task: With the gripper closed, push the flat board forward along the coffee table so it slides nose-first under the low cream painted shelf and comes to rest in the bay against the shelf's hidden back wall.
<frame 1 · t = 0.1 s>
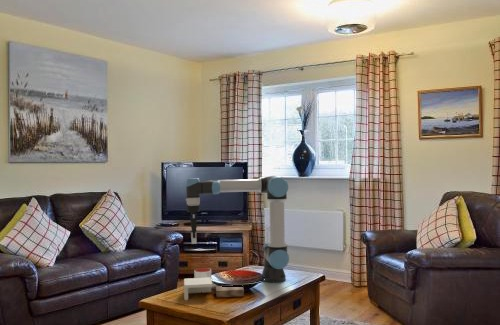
hand: (193, 241, 267), 28 cm above the table, fingers open, 13 cm apart
board: (229, 295, 258), on the table
cup: (203, 287, 274), on the table
shelf: (198, 295, 256), on the table
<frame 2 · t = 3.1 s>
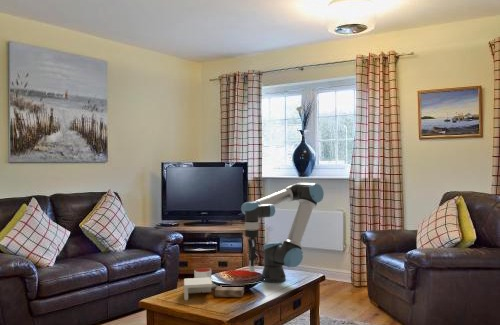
hand: (252, 271, 259), 12 cm above the table, fingers closed
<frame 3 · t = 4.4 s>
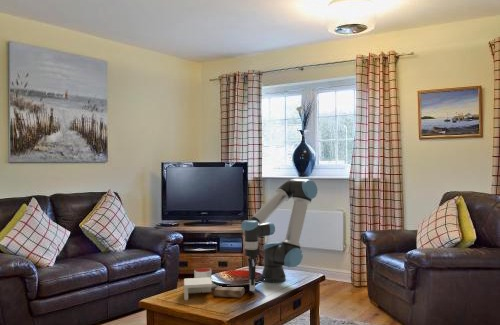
hand: (252, 290, 260), 1 cm above the table, fingers closed
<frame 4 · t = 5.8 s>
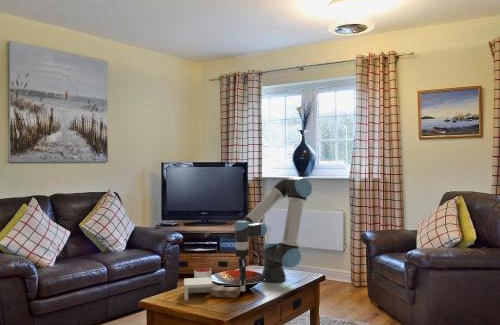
hand: (242, 290, 259), 2 cm above the table, fingers closed
board: (225, 295, 257), on the table
everything else where it was.
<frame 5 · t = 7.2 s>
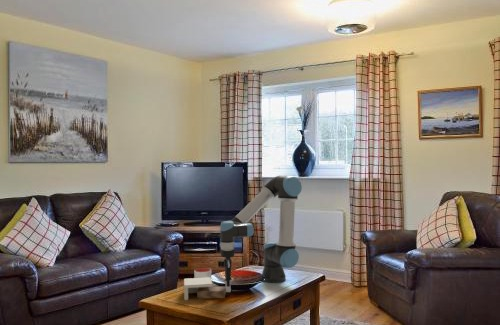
hand: (228, 291, 258), 2 cm above the table, fingers closed
board: (211, 296, 256), on the table, touching gripper
everything else where it was.
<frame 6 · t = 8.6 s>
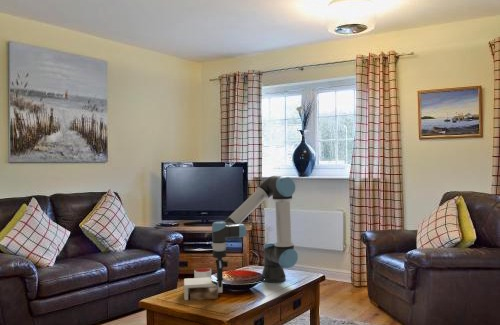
hand: (219, 292, 257), 1 cm above the table, fingers closed
board: (203, 297, 254), on the table
everything else where it was.
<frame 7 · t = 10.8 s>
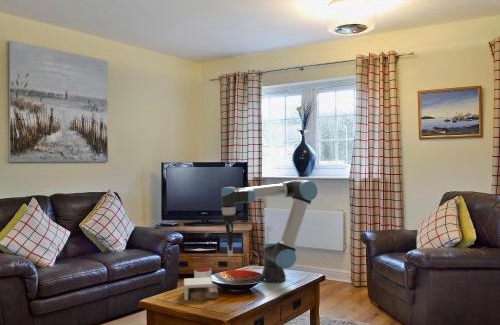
hand: (230, 255, 263), 20 cm above the table, fingers closed
nothing on the table moved.
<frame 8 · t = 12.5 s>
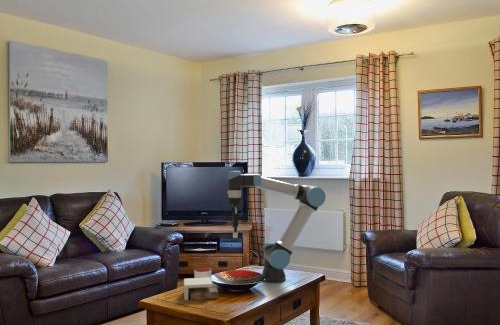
hand: (235, 237, 270), 29 cm above the table, fingers closed
nothing on the table moved.
at the end: board inside the target area (1.7 cm from its centre), on the table; board tilted 0°; the gripper is holding nothing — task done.
